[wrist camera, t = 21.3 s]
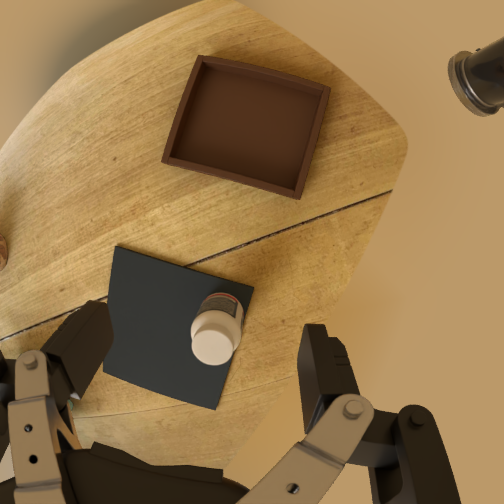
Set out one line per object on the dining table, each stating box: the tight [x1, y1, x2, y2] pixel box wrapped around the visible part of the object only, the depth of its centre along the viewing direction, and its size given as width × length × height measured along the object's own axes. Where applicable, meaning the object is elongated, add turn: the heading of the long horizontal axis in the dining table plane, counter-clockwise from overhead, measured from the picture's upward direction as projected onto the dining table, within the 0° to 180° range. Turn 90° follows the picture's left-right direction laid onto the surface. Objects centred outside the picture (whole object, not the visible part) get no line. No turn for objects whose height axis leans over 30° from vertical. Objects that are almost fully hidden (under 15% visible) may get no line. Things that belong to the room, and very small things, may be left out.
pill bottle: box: [191, 293, 244, 365], centre depth 30 cm, size 5×5×9 cm
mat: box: [103, 246, 254, 410], centre depth 36 cm, size 18×20×1 cm
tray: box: [161, 55, 331, 200], centre depth 30 cm, size 16×14×2 cm
